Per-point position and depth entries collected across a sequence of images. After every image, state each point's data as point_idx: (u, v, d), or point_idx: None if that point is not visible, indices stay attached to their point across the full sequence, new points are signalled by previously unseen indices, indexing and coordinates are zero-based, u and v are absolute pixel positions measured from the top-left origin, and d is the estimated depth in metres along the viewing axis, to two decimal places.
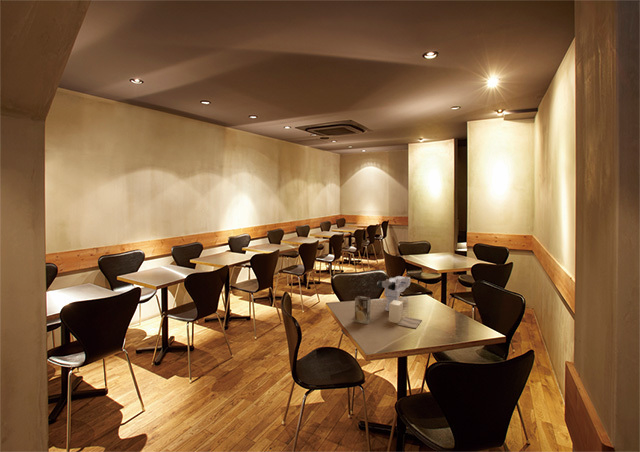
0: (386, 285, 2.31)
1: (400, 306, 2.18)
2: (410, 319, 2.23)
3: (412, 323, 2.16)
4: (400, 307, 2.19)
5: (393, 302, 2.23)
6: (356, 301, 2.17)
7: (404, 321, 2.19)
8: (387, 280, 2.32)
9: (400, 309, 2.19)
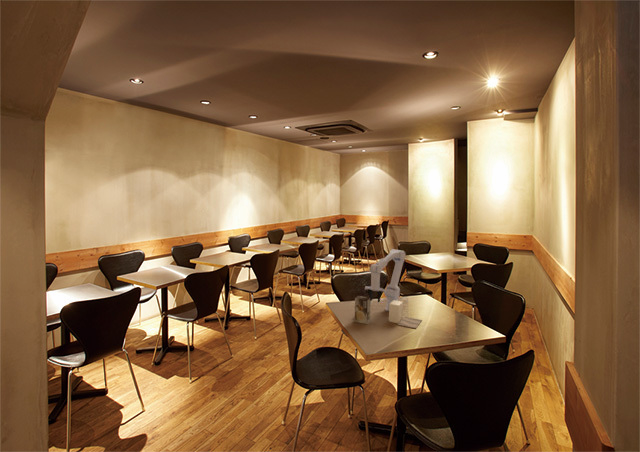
0: (375, 290, 2.29)
1: (400, 305, 2.18)
2: (410, 319, 2.23)
3: (412, 323, 2.16)
4: (400, 307, 2.19)
5: (393, 302, 2.23)
6: (356, 301, 2.17)
7: (404, 321, 2.19)
8: (373, 290, 2.26)
9: (400, 309, 2.19)
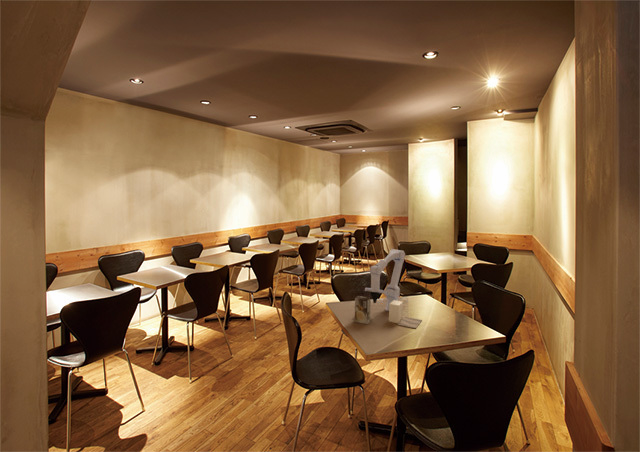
0: (374, 292, 2.29)
1: (400, 306, 2.18)
2: (410, 319, 2.23)
3: (412, 323, 2.16)
4: (400, 307, 2.19)
5: (393, 302, 2.23)
6: (356, 301, 2.17)
7: (404, 321, 2.19)
8: (373, 291, 2.26)
9: (400, 309, 2.19)
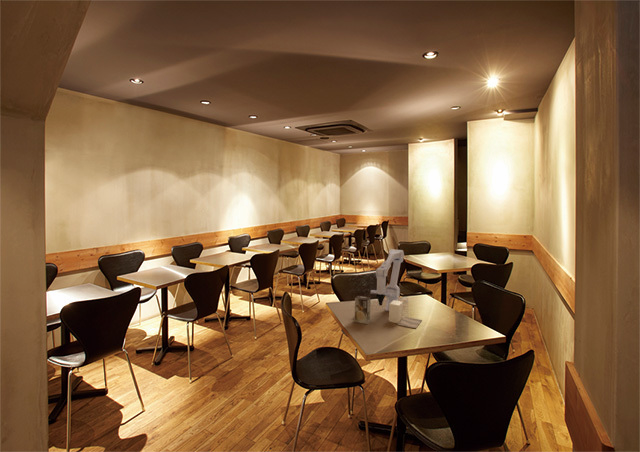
0: (380, 294, 2.27)
1: (400, 306, 2.18)
2: (410, 319, 2.23)
3: (412, 323, 2.16)
4: (400, 307, 2.19)
5: (393, 302, 2.23)
6: (356, 301, 2.17)
7: (404, 321, 2.19)
8: (379, 293, 2.24)
9: (400, 309, 2.19)
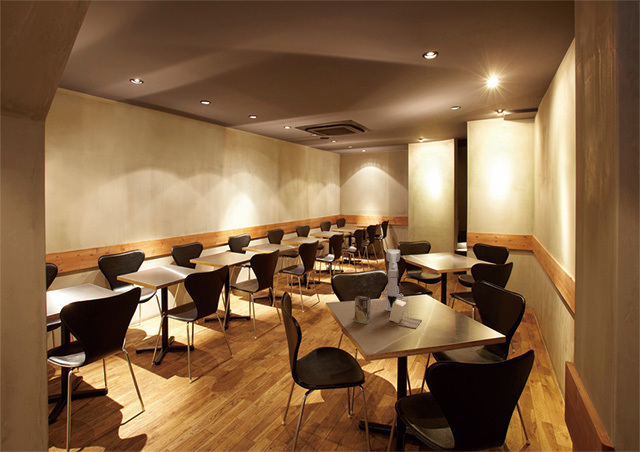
0: (392, 296, 2.23)
1: (403, 306, 2.17)
2: (410, 319, 2.23)
3: (412, 323, 2.16)
4: (403, 308, 2.18)
5: (397, 301, 2.21)
6: (356, 301, 2.17)
7: (404, 321, 2.19)
8: (390, 295, 2.20)
9: (402, 310, 2.19)
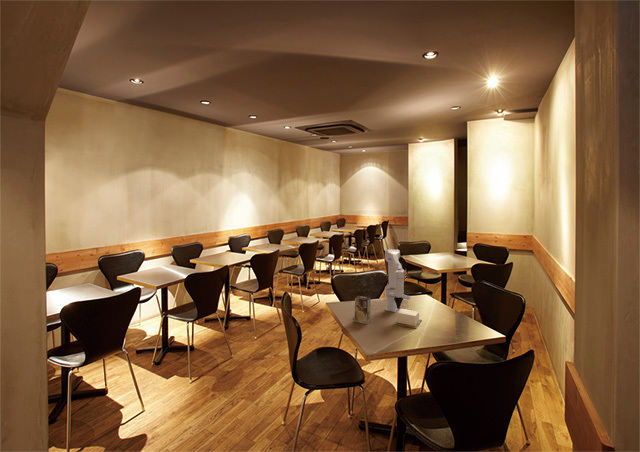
0: (398, 297, 2.21)
1: None
2: None
3: None
4: None
5: (417, 315, 2.15)
6: (356, 301, 2.17)
7: None
8: (397, 297, 2.18)
9: None
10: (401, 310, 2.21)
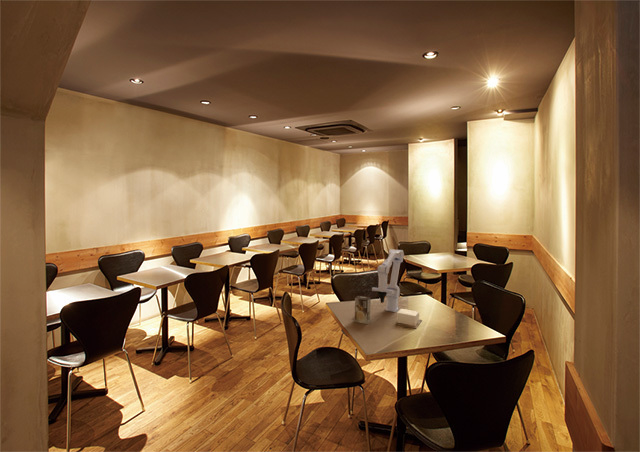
0: (382, 291, 2.26)
1: None
2: None
3: None
4: None
5: (417, 315, 2.15)
6: (356, 301, 2.17)
7: None
8: None
9: None
10: (401, 310, 2.21)
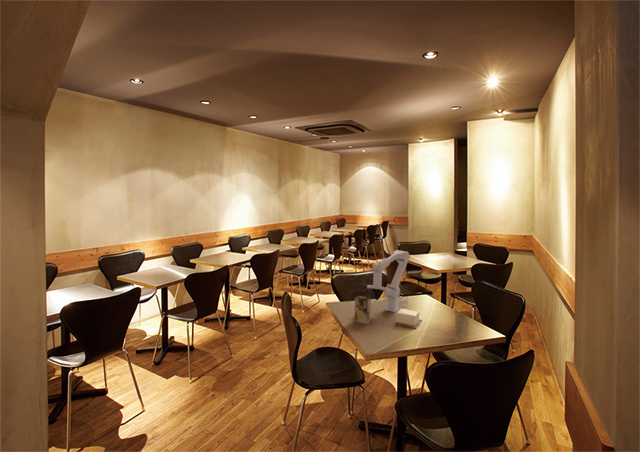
0: (377, 289, 2.32)
1: None
2: None
3: None
4: None
5: (417, 315, 2.15)
6: (356, 301, 2.17)
7: None
8: (375, 288, 2.29)
9: None
10: (401, 310, 2.21)
